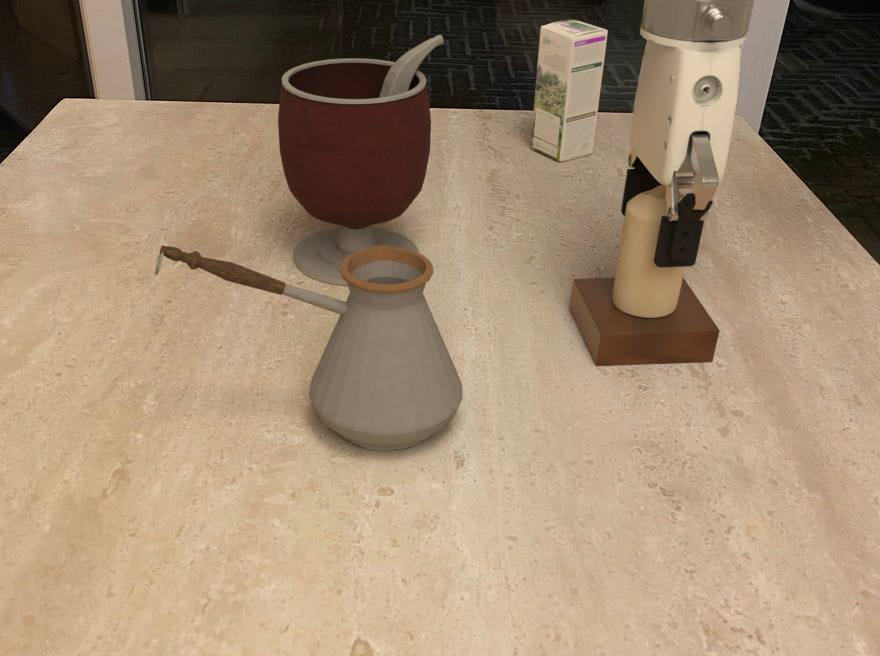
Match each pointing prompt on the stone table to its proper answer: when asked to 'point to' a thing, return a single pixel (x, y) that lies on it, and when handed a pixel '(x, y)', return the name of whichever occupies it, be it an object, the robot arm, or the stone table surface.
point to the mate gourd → (354, 151)
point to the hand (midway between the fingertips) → (655, 238)
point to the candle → (645, 260)
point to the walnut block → (641, 328)
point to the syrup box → (568, 89)
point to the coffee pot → (370, 347)
